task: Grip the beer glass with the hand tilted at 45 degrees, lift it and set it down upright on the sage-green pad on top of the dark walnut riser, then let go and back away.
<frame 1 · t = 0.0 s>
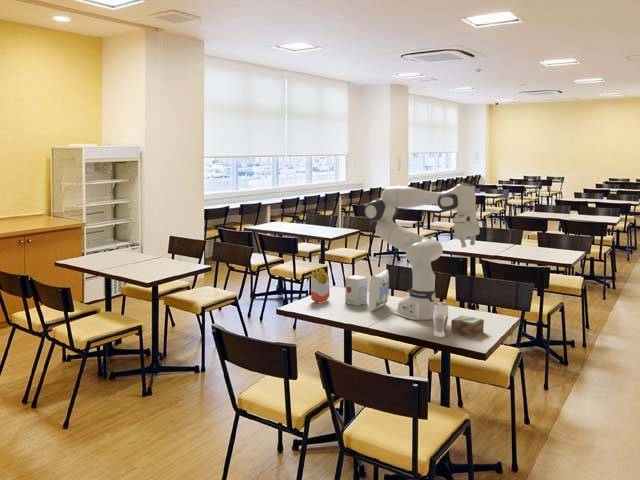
hand: (468, 246, 276), 39 cm above the table, tool pointing down, fingers open, 8 cm apart
beer glass: (439, 336, 264), on the table
supplement box: (356, 303, 320), on the table
french fries container: (320, 302, 323), on the table
pouch: (378, 308, 311), on the table
walnut riser: (467, 332, 269), on the table
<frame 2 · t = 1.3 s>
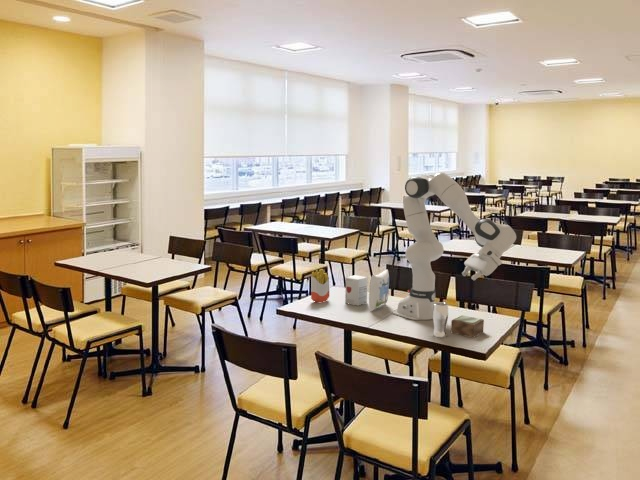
hand: (467, 277, 262), 27 cm above the table, tool tilted 45°, fingers open, 8 cm apart
nothing on the table moved.
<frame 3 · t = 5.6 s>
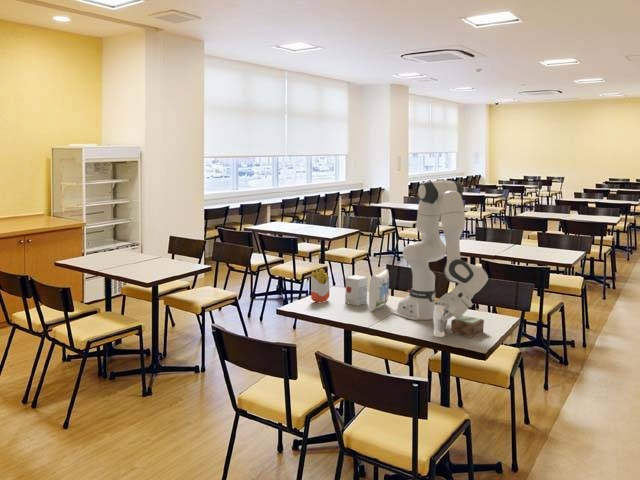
hand: (438, 318, 262), 8 cm above the table, tool tilted 45°, fingers closed on beer glass, 7 cm apart
beer glass: (439, 336, 264), on the table, touching gripper
everything else where it was.
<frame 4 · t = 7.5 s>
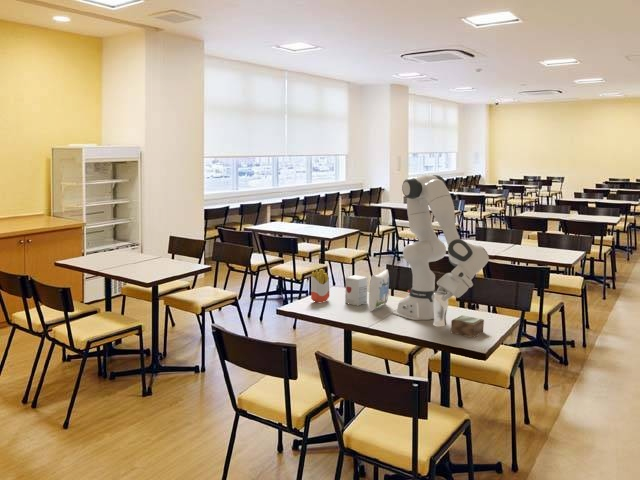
hand: (439, 297, 261), 18 cm above the table, tool tilted 45°, fingers closed on beer glass, 6 cm apart
beer glass: (439, 325, 263), point 5 cm above the table, touching gripper
everything else where it was.
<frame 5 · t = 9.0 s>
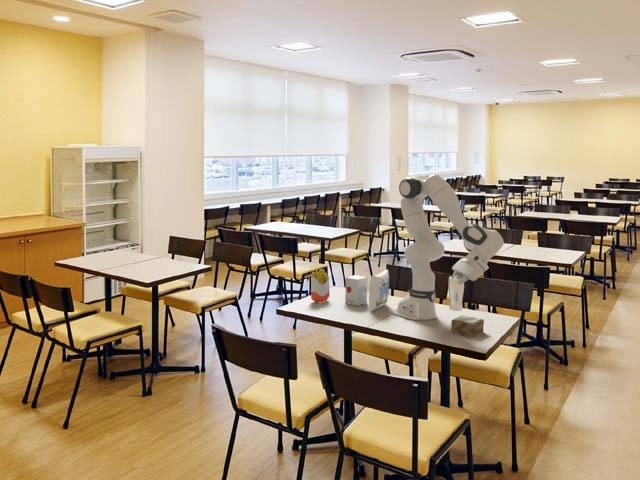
hand: (455, 282, 263), 25 cm above the table, tool tilted 45°, fingers closed on beer glass, 6 cm apart
beer glass: (455, 309, 265), point 12 cm above the table, touching gripper
everything else where it was.
when the fingers open (19 cm above the table, at t = 10.8 s): beer glass stays where it is, resting on walnut riser.
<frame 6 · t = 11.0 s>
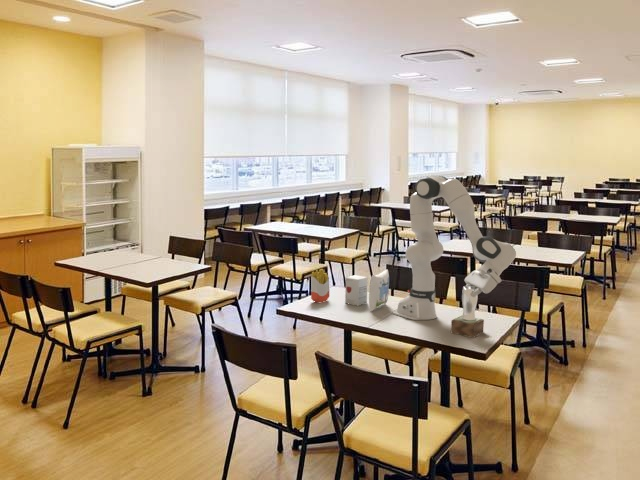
hand: (467, 294, 266), 18 cm above the table, tool tilted 45°, fingers open, 6 cm apart
beer glass: (468, 319, 268), point 6 cm above the table, touching gripper, walnut riser
everything else where it was.
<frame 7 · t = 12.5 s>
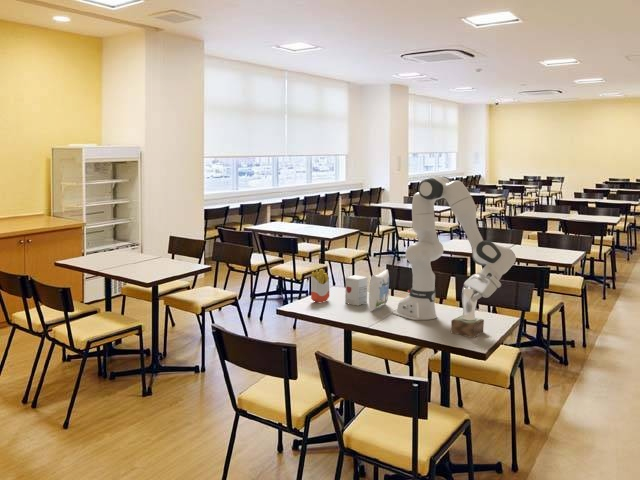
hand: (467, 298, 266), 16 cm above the table, tool tilted 45°, fingers open, 8 cm apart
beer glass: (468, 319, 268), point 6 cm above the table, touching walnut riser
everything else where it was.
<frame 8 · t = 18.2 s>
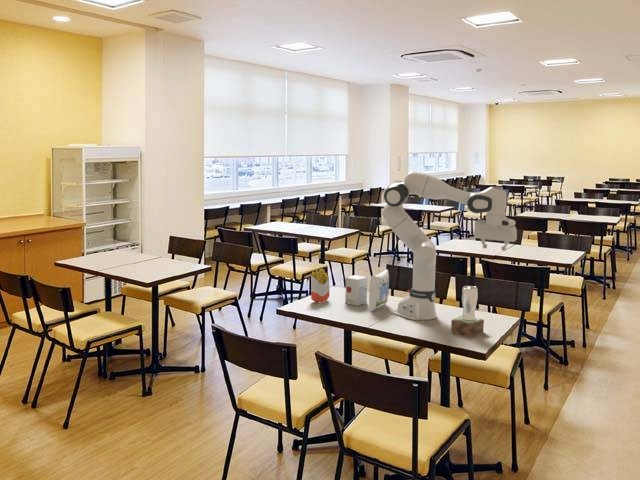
hand: (494, 249, 278), 37 cm above the table, tool pointing down, fingers open, 8 cm apart
nothing on the table moved.
at the end: beer glass inside the target area on the walnut riser (0.6 cm from its centre), point 6.2 cm above the walnut riser's base; beer glass tilted 0°; the gripper is holding nothing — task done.
